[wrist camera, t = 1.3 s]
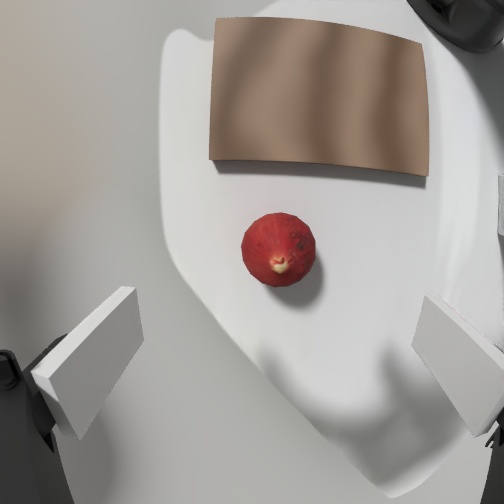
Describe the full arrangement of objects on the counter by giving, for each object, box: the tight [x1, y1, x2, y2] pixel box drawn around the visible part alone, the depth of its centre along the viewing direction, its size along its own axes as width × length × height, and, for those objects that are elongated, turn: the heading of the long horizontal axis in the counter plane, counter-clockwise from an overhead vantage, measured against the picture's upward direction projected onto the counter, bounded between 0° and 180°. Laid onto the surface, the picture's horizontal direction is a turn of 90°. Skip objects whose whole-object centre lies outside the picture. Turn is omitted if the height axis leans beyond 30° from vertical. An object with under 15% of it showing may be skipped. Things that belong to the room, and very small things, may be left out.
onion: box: [241, 213, 315, 287], centre depth 23 cm, size 6×6×8 cm
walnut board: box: [209, 17, 429, 176], centre depth 22 cm, size 20×14×2 cm
